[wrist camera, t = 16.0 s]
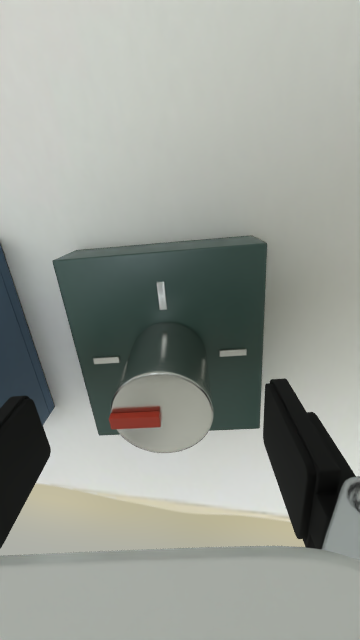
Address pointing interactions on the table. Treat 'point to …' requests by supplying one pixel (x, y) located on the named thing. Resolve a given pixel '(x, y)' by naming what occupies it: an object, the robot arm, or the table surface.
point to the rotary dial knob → (164, 391)
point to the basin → (19, 351)
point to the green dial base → (171, 315)
